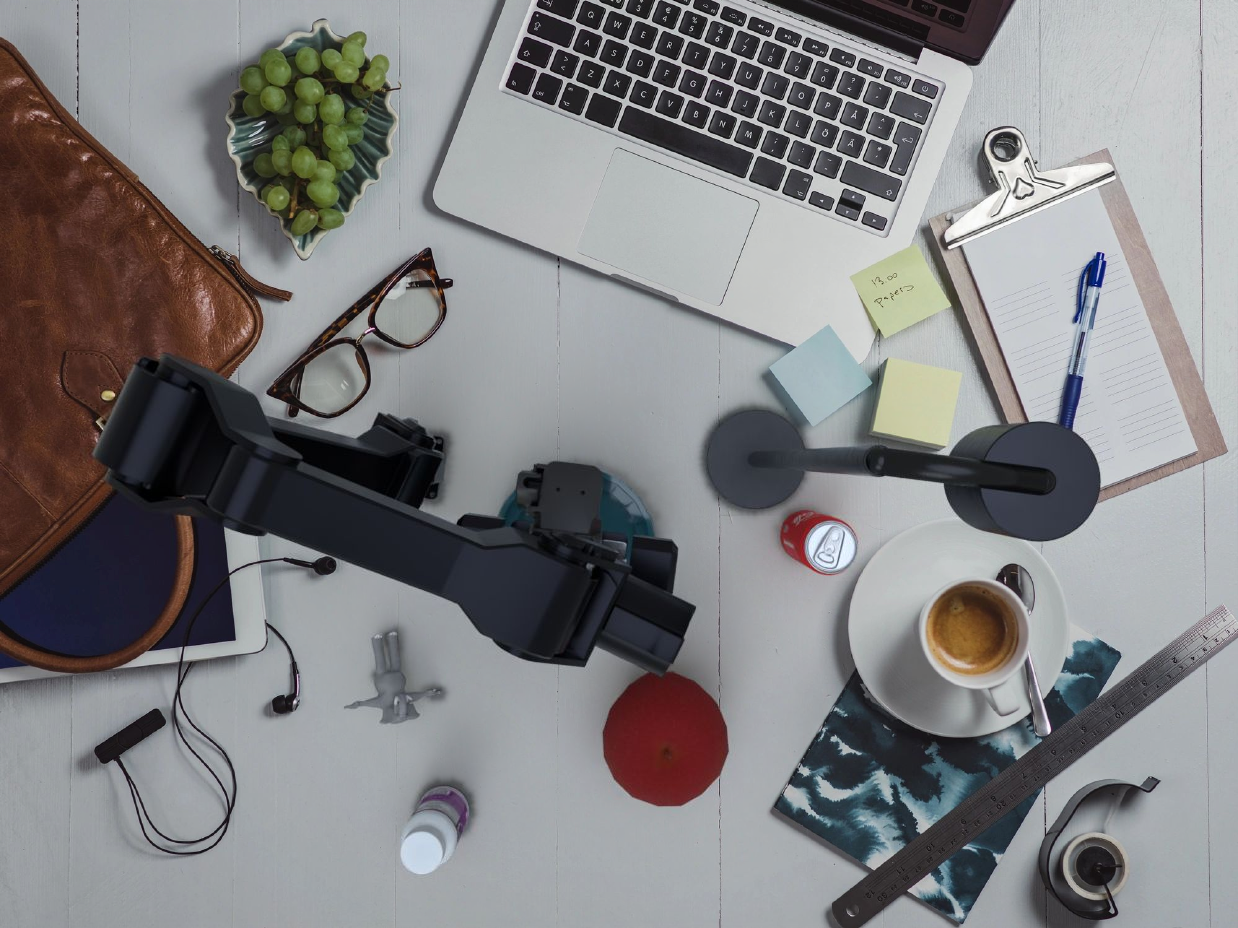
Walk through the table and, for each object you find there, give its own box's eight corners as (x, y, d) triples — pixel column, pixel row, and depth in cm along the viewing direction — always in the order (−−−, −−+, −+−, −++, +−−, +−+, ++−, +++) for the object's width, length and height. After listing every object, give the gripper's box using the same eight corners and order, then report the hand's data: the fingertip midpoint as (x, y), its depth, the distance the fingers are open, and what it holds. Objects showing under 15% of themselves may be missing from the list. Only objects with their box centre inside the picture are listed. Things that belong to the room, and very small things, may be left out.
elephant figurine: (440, 621, 87) (456, 709, 83) (418, 637, 91) (432, 722, 88) (345, 631, 80) (357, 726, 77) (325, 648, 85) (336, 739, 81)
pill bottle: (453, 845, 87) (430, 893, 77) (409, 817, 87) (381, 862, 77) (480, 801, 86) (460, 844, 77) (436, 773, 87) (412, 813, 77)
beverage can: (770, 548, 86) (792, 563, 74) (789, 501, 86) (815, 509, 74) (817, 567, 86) (847, 585, 74) (837, 520, 85) (869, 531, 73)
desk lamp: (699, 501, 86) (768, 549, 41) (712, 404, 86) (795, 347, 41) (855, 521, 85) (1095, 591, 41) (867, 424, 85) (1122, 387, 41)
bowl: (488, 612, 86) (481, 619, 82) (508, 456, 86) (501, 456, 82) (644, 632, 86) (644, 641, 82) (664, 476, 86) (665, 477, 82)
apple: (628, 638, 86) (627, 671, 73) (735, 676, 86) (754, 716, 72) (589, 747, 86) (581, 800, 73) (696, 786, 86) (707, 846, 73)
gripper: (692, 485, 63) (681, 479, 79) (448, 454, 64) (485, 454, 79) (673, 631, 63) (666, 597, 79) (429, 599, 64) (470, 571, 79)
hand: (572, 551), depth 79 cm, fingers closed on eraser, 3 cm apart
